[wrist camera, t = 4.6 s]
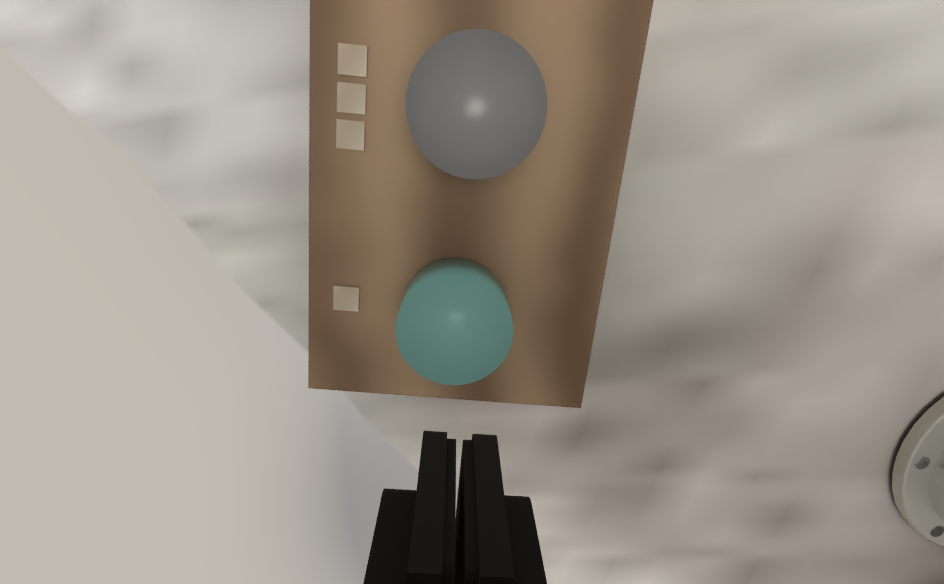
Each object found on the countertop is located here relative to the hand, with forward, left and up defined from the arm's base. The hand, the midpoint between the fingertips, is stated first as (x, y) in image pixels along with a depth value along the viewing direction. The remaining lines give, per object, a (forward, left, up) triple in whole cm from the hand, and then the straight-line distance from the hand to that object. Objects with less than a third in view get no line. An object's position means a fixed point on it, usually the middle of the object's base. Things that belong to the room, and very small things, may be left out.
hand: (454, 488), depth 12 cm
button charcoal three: (0, -9, -12) cm, 15 cm away
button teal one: (0, +1, -14) cm, 14 cm away
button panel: (0, -9, -17) cm, 19 cm away
